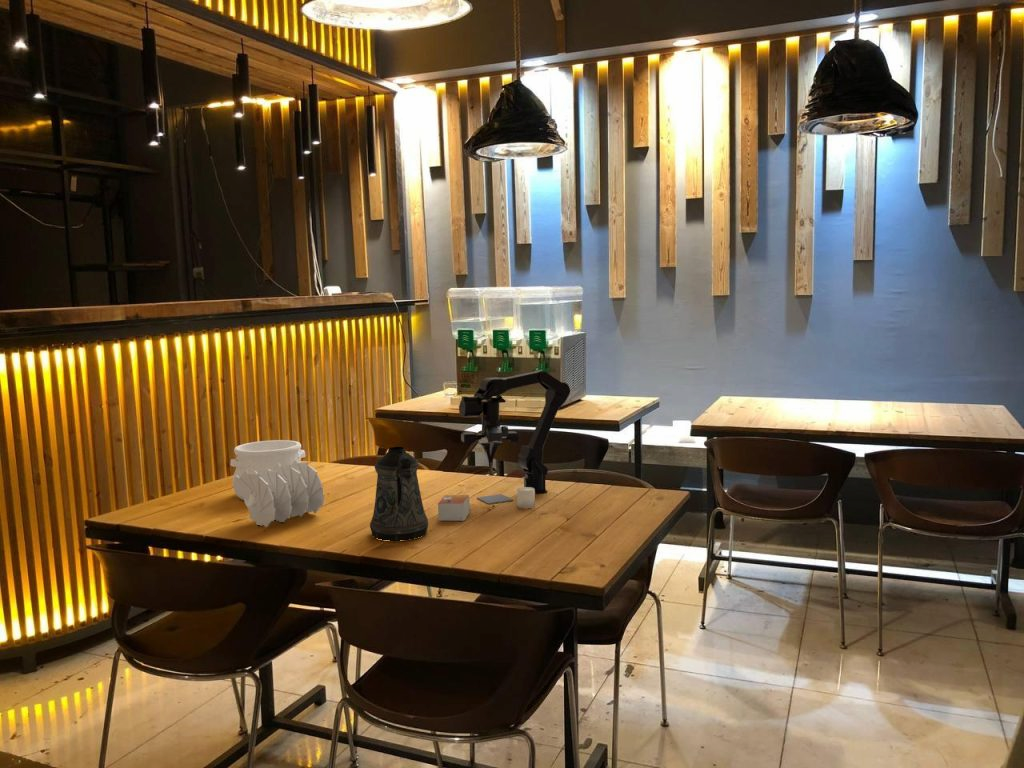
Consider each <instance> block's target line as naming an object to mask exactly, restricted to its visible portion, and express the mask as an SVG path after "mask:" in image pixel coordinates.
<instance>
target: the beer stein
mask: <svg viewBox="0 0 1024 768" xmlns="http://www.w3.org/2000/svg"><path fill="white" fill-rule="evenodd" d="M419 463H420V462H419V461H418V460H417V459H416V458H415V457H414V456H412V455H411V454H409V452H407V451H406V448H405V447H403V446H392V447H389V448H388V451H387V452H386V453H385V454H384V455H383V456H382V457H381V458H379V459H378V460H377V461H376V463H375V464H374V470H375V472H376V474H377V475H376V476H377V480H376V487H375V499H374V508H373V512H372V513H373V514H372V517H371V520H370V522H369V529H370V532H371V537H372V536H374V537H375V538H378V539H382V540H390V541H400V540H409V539H414V538H418V537H421V536H423V535H424V536H426V535H427V533H428V532H427V531H428V528H429V518H428V517H427V514H426V512H425V511H426V510H425V508H424V504H423V500H422V495H421V491H420V486H419V485H420V484H419V478H418V469H419ZM425 534H426V535H425ZM424 536H423V537H424ZM375 538H374V539H375ZM421 538H422V537H421ZM418 539H419V538H418Z"/></svg>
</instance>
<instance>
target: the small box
mask: <svg viewBox="0 0 1024 768" xmlns="http://www.w3.org/2000/svg"><path fill="white" fill-rule="evenodd" d="M437 506H438V507H437V509H438V511H437V513H438V516H437V517H438V522H442V521H443V522H445V521H447V522H450V521H451V522H452V521H453V522H454V521H455V522H464V521H465V520H466V519H467V518H468V515H469V514H470V513H471V512H470V511H471V510H470V494H464V495H463V494H445V495H443V496H442V498H441V499H440V500H439V502H438V505H437Z"/></svg>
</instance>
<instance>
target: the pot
mask: <svg viewBox="0 0 1024 768" xmlns="http://www.w3.org/2000/svg"><path fill="white" fill-rule="evenodd" d="M233 451H234V454H235V455H236V456H237V457H236V458H231V459H230V466H231V467H235V471H234V473H233V478H232V484H233V483H234V480H235V477H236V476H238V477H240V476H241V475H242V474H243V473H244V472H245V471H248V473H249V474H250V473H251V474H253V473H254V471H256V472H257V473H258V472H259V471H261V470H262V469H263V468H265V467H266V468H267V470H269V469H270V470H271V471H272V470H273V469H274V468H275V466H276V465H277V464H278V463H280V465H281V466H284V465H291V464H292V463H293V462H294V461H295V460H297V461H298V463H301V462H302V461H301V459H302V458H305V457H306V451H305V450H304V449H302V444H301V442H299V441H296V440H287V439H279V440H278V439H273V440H261V441H252V442H248V443H242V444H240V445H237V446H235V447H234V449H233ZM233 491H234V493H235V495H236V496H237V497H238V498H239V499H240V500H243V501H244V498H243V497H242V496H241V495H240V494H239V493H238V492H237V491H236V490H235V489H234V488H233Z"/></svg>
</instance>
